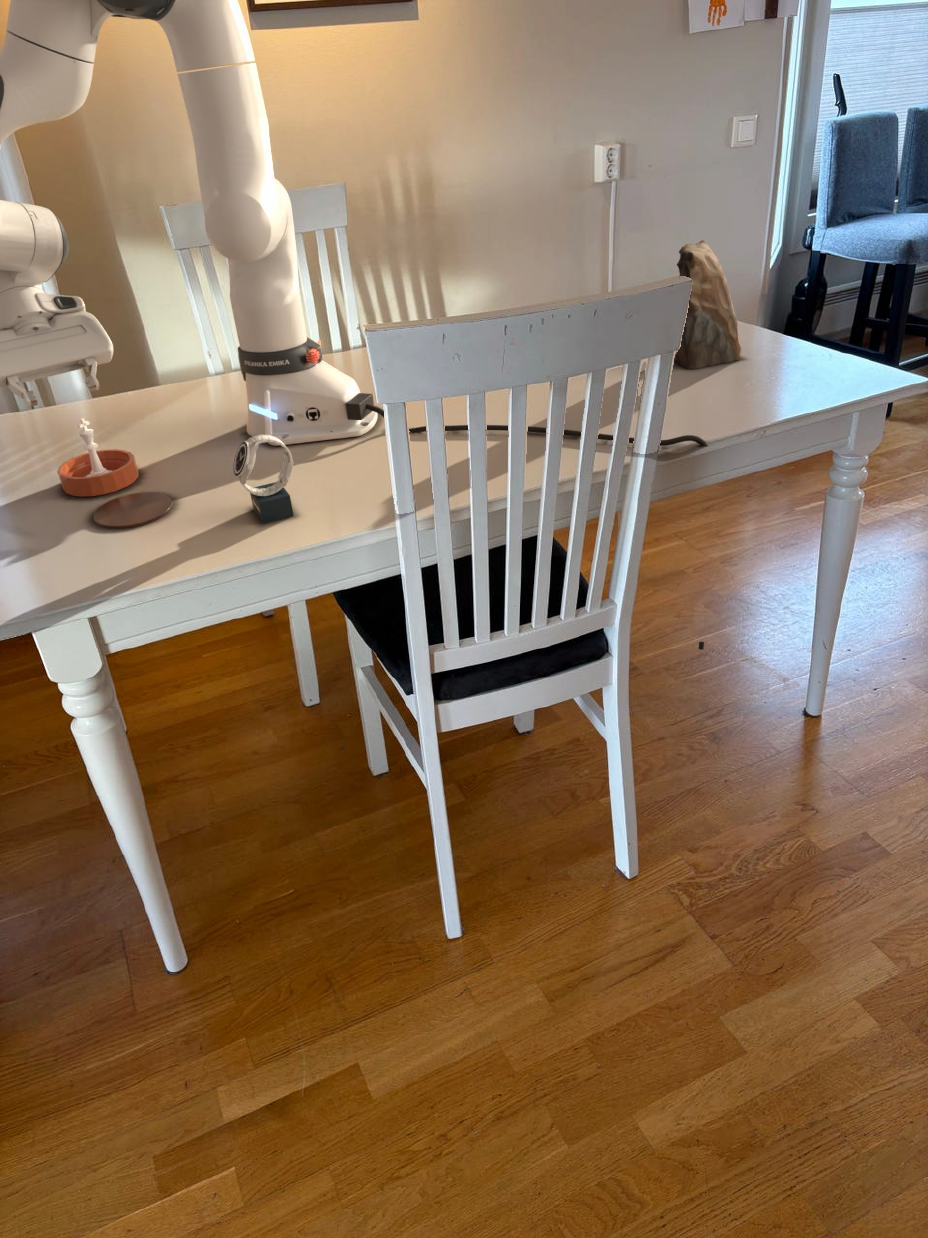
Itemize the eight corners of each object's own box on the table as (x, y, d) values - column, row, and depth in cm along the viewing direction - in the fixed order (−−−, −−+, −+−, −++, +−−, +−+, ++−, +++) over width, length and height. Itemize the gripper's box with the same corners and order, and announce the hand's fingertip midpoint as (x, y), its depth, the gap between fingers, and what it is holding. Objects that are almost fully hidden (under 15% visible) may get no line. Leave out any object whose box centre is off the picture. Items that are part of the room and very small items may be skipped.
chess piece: (124, 477, 140) (106, 415, 134) (98, 489, 136) (79, 426, 131) (103, 472, 142) (85, 411, 137) (78, 484, 139) (57, 422, 133)
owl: (686, 371, 165) (693, 256, 154) (649, 354, 175) (654, 245, 164) (743, 359, 168) (755, 246, 157) (704, 343, 178) (712, 235, 167)
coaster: (182, 493, 134) (181, 490, 134) (158, 527, 125) (157, 524, 124) (111, 496, 135) (110, 493, 134) (81, 530, 126) (80, 527, 125)
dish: (149, 466, 144) (144, 447, 142) (123, 496, 134) (117, 476, 132) (81, 469, 144) (75, 450, 143) (51, 499, 135) (44, 480, 133)
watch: (239, 512, 127) (223, 438, 121) (294, 498, 130) (281, 425, 124) (249, 527, 123) (233, 451, 117) (306, 512, 125) (292, 438, 119)
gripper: (-48, 322, 131) (-9, 403, 130) (91, 294, 141) (129, 369, 140) (-44, 347, 137) (-6, 424, 135) (90, 318, 147) (127, 390, 145)
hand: (64, 396), depth 138 cm, fingers open, 8 cm apart
